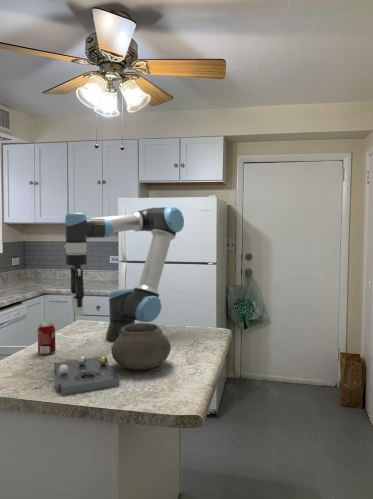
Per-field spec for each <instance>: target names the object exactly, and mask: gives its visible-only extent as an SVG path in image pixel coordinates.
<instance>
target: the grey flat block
mask: <svg viewBox="0 0 373 499" xmlns="http://www.w3.org/2000/svg"><path fill="white" fill-rule="evenodd" d="M100 357H101V356H95V357H89V358H87V357H86V363H85V364H84V365H80V364H78V362H77V359H74V360H67V361H61V362H60V361H59V362H53V363H54V364H53V368H54V369H53V370H54V373H55V380H54V383H55V388H56V393H60V395H61V397H62V396H69V395H74V394H80V393H87V392H90V391H91V392H93V391H96V390H97V391H98V390H103V389H107V388H108V389H110V388H114V387H119V386H120V382H121V381H120V378H121V376H120V373H119V372H118V370H117V369H116V368H112V366H111V365H110V364H109V363H108V361H107V363H106V364H105V365H101V364H100V363H99V358H100ZM64 364H65V365H67V366H68V371H67V372H66V373H65V374H62V373H60V372H59V367H60V366H61V365H64Z"/></svg>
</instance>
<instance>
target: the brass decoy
mask: <svg viewBox="0 0 373 499" xmlns="http://www.w3.org/2000/svg"><path fill="white" fill-rule="evenodd" d="M99 357H100V358H99V363H100V364H101V365H105V364H106V363H107V362H108V358H107V356H105V355H104V356H103V355H101V356H99Z"/></svg>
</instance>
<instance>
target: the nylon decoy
mask: <svg viewBox="0 0 373 499" xmlns="http://www.w3.org/2000/svg"><path fill="white" fill-rule="evenodd" d="M67 371H68V366H67V365H65V364H64V365H61V366H60V367H59V372H60V373H62V374H65V373H66V372H67Z"/></svg>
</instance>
